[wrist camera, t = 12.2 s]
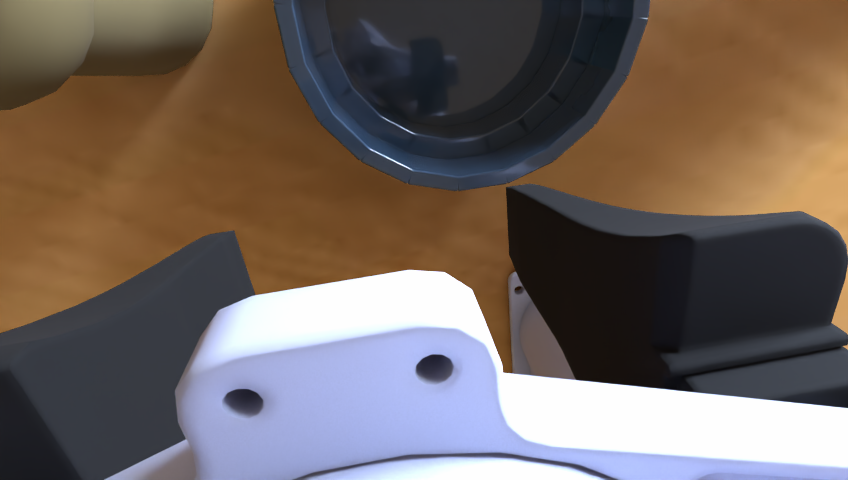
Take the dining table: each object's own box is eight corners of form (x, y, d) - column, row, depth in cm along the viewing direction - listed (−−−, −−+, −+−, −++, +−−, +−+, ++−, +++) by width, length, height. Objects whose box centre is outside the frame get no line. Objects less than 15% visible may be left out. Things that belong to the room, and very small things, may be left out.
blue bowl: (583, 132, 23) (637, 163, 19) (329, 171, 22) (322, 213, 18) (593, -198, 18) (673, -266, 13) (257, -159, 17) (221, -216, 13)
